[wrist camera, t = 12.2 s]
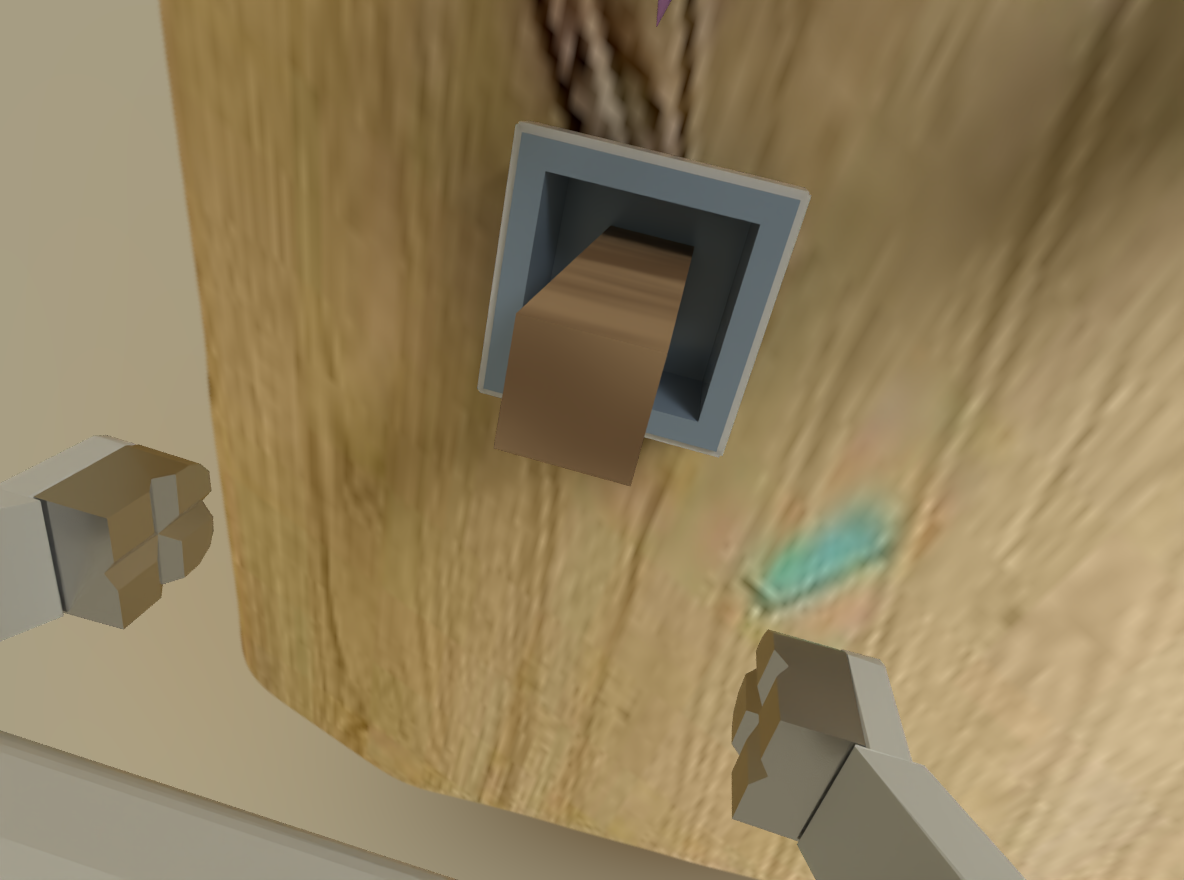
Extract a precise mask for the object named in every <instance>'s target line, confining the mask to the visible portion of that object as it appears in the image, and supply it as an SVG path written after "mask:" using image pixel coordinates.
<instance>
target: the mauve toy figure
mask: <svg viewBox="0 0 1184 880" xmlns="http://www.w3.org/2000/svg"><path fill="white" fill-rule="evenodd" d="M670 2H671V0H658V12H657V26H658V24H659V22H660V20H661V18H662V16H663V15H664V13H665V11H666V9H667V7H668V6H669V4H670Z"/></svg>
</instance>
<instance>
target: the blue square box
mask: <svg viewBox="0 0 1184 880" xmlns="http://www.w3.org/2000/svg"><path fill="white" fill-rule="evenodd" d="M810 199H811V195H810V194H809V191H808V190H807V189H806V188H805V187H801V186H797V185H793V184H789V183H784V182H780V181H776V180H772V179H768V178H764V177H760V176H756V175H752V174H748V173H743V172H739V171H735V170H731V169H727V168H723V167H719V166H715V165H711V164H707V163H702V162H698V161H694V160H690V159H686V158H682V157H678V156H674V155H670V154H665V153H661V152H657V151H653V150H649V149H645V148H641V147H637V146H633V145H629V144H624V143H620V142H616V141H612V140H608V139H604V138H600V137H596V136H592V135H588V134H583V133H579V132H575V131H571V130H567V129H563V128H559V127H555V126H551V125H547V124H542V123H538V122H534V121H519V123H518V124H516V125H515V132H514V139H513V146H512V153H511V160H510V166H509V173H508V180H507V187H506V194H505V201H504V208H503V214H502V221H501V228H500V235H499V242H498V249H497V256H496V262H495V269H494V276H493V283H492V290H491V297H490V304H489V310H488V317H487V324H486V331H485V338H484V345H483V352H482V358H481V365H480V372H479V379H478V386H477V389H478V390H479V392H480V393H484V394H488V395H491V396H495V397H499V398H502V395H503V389H504V383H505V377H506V371H507V365H508V359H509V353H510V347H511V341H512V335H513V329H514V323H515V317H516V313H517V312H518V311H519V310H520V309H521V308H522V307H523V306H525V305H526V304H527V303H528V302H529V301H530V300H531V299H532V298H533V297H534V296H535V295H536V294H537V293H539V292H540V291H541V290H542V289H543V288H544V287H545V286H546V285H547V284H548V283H549V282H550V281H551V280H553V279H554V278H555V277H556V276H557V275H558V274H559V273H560V272H561V271H562V270H563V269H564V268H566V267H567V266H568V265H569V264H570V263H571V262H572V261H573V260H574V259H575V258H576V257H577V256H578V255H580V254H581V253H582V252H583V251H584V250H585V249H586V248H587V247H588V246H589V245H590V244H591V243H592V242H594V241H595V240H596V239H597V238H598V237H599V236H600V235H601V234H602V233H603V232H604V231H605V230H606V229H608V228H609V227H610V226H615V227H619V228H623V229H627V230H631V231H635V232H639V233H643V234H647V235H651V236H654V237H658V238H662V239H666V240H670V241H674V242H678V243H682V244H686V245H690V246H694V251H693V255H692V259H691V263H690V267H689V271H688V274H687V278H686V282H685V286H684V290H683V294H682V298H681V302H680V306H679V310H678V314H677V318H676V322H675V326H674V330H673V334H672V338H671V342H670V346H669V349H668V353H667V357H666V361H665V364H664V368H663V371H662V375H661V379H660V382H659V386H658V389H657V393H656V397H655V400H654V404H653V407H652V411H651V415H650V418H649V422H648V425H647V429H646V433H645V436H644V437H645V438H649V439H653V440H656V441H660V442H664V443H667V444H671V445H675V446H678V447H682V448H686V449H689V450H693V451H697V452H700V453H704V454H708V455H711V456H715V457H720V456H723V453H724V450H725V447H726V444H727V441H728V438H729V435H730V433H731V430H732V427H733V424H734V421H735V418H736V415H737V412H738V409H739V406H740V403H741V400H742V397H743V395H744V392H745V389H746V386H747V383H748V380H749V377H750V374H751V371H752V368H753V365H754V362H755V359H756V357H757V354H758V351H759V348H760V345H761V342H762V339H763V336H764V333H765V330H766V327H767V324H768V321H769V318H770V316H771V313H772V310H773V307H774V304H775V301H776V298H777V295H778V292H779V289H780V286H781V283H782V280H783V278H784V275H785V272H786V269H787V266H788V263H789V260H790V257H791V254H792V251H793V248H794V245H795V242H796V239H797V237H798V234H799V231H800V228H801V225H802V222H803V219H804V216H805V213H806V210H807V207H808V204H809V201H810Z"/></svg>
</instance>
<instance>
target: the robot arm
mask: <svg viewBox="0 0 1184 880" xmlns="http://www.w3.org/2000/svg"><path fill="white" fill-rule="evenodd" d="M210 492H211V483H210V475H209V471H208V470H207V469H206V468H205V467H203V466H202V465H201V464H199V463H196V462H193V461H189V460H186V459H183V458H180V457H177V456H174V455H170V454H167V453H164V452H161V451H158V450H155V449H151V448H148V447H145V446H142V445H136V444H134V443H131V442H127V441H124V440H121V439H118V438H115V437H111V436H108V435H103V436H102V435H99V436H92V437H90V438H88V439H86V440H84V441H82V442H80V443H78V444H76V445H74V446H72V447H70V448H68V449H66V450H64V451H62V452H60V453H58V454H57V455H54V456H52V457H51V458H48V459H46V460H44V461H42V462H40V463H39V464H36V465H35V466H32V467H30V468H29V469H27V470H25V471H23V472H21V473H19V474H17V475H15V476H13V477H11V478H9V479H7V480H5V481H3V482H1V483H0V641H2V640H5V639H7V638H10V637H13V636H15V635H17V634H20V633H23V632H25V631H28V630H30V629H32V628H35V627H37V626H40V625H42V624H45V623H47V622H50V621H52V620H55V619H57V618H60V617H62V616H63V613H67V614H70V615H74V616H77V617H81V618H84V619H88V620H92V621H95V622H99V623H102V624H106V625H110V626H113V627H117V628H120V629H125V628H126V627H127V626H128V625H130V624H131V623H132V622H133V621H134V620H135V619H137V618H138V617H139V616H140V615H141V614H142V613H144V612H145V611H146V610H147V609H148V608H150V606H152V605H153V604H154V603H155V602H157V601H158V600H159V599H160V598H161V595H162V586H163V584H166V583H169V582H171V581H175V580H178V579H181V578H184V577H186V576H187V575H188V574H189V573H190V572H191V571H192V570H193V569H195V567H197V566H198V565H199V564H200V562H201V561H202V559H203V557H204V555H205V553H206V552H207V550H208V549H209V547H210V544H211V540H212V535H213V531H214V530H213V516H212V514H211V513H210V511H209V510H208V508H207V507H206V505H205V504H204V502H203V501H202V500H203V499H204V498H205V497H206V496H207V495H208V494H209V493H210ZM756 664H757V668H756V669H755V670H753V671H751V672H749V673H747V674H746V675H745V677H744V680H743V682H742V685H741V687H740V690H739V692H738V696H737V700H736V704H735V708H734V713H733V722H732V745H733V746H734V748H735V749H736V751H737V752H738V754H739V757H738V759H737V762H736V764H735V766H734V768H733V770H732V819H734V820H737V821H740V822H743V823H746V824H749V825H752V826H755V827H758V828H761V829H764V830H767V831H770V832H772V833H775V834H778V835H781V836H784V837H787V838H790V839H793V840H796V841H799V842H798V844H797V845H798V847H799V849H800V851H801V853H802V855H803V857H804V858H805V860H806V862H807V864H808V866H809V868H810V870H811V872H812V874H813V876H814V877H815V879H816V880H1026V879H1025V878H1024V877H1023V876H1022V875H1021V873H1020V872H1019V871H1018V870H1017V869H1016V868H1015V867H1014V866H1013V864H1012V863H1011V862H1010V861H1009V860H1008V859H1007V858H1006V857H1005V855H1004V854H1003V853H1002V852H1001V851H1000V850H999V849H998V848H997V846H996V845H995V844H994V843H993V842H992V841H991V840H990V839H989V838H988V836H987V835H986V834H985V833H984V832H983V831H982V830H981V829H980V827H979V826H978V825H977V824H976V823H975V822H974V821H973V820H972V818H971V817H970V816H969V815H968V814H967V813H966V812H965V811H964V809H963V808H962V807H961V806H960V805H959V804H958V803H957V802H956V800H955V799H954V798H953V797H952V796H951V795H950V794H949V793H948V791H947V790H946V789H945V788H944V787H943V786H942V785H941V784H940V783H939V781H938V780H937V779H936V778H935V777H934V776H933V775H932V774H931V772H930V771H929V770H928V769H927V768H926V767H925V766H924V765H921V764H918V763H915V762H912V758H911V755H910V751H909V748H908V744H907V741H906V737H905V734H904V730H903V727H902V723H901V720H900V716H899V713H898V709H897V706H896V702H895V699H894V695H893V692H892V688H891V685H890V681H889V678H888V674H887V671H886V667H885V665H884V664H883V663H882V661H881V660H880V659H877V658H873V657H869V656H865V655H862V654H858V653H854V652H850V651H847V650H843V649H842V650H838V649H835V648H832V647H828V646H825V645H821V644H818V643H814V642H811V641H807V640H804V639H800V638H797V637H793V636H790V635H786V634H783V633H779V632H776V631H772V630H769V629H768V630H767V631H766V633H765V634H764V635H763V637H762V639H761V641H760V643H759V645H758V647H757V650H756ZM0 880H456V879H453V878H450V877H447V876H444V875H441V874H438V873H435V872H432V871H429V870H425V869H423V868H420V867H416V866H413V865H410V864H407V863H404V862H401V861H398V860H395V859H391V858H388V857H386V856H382V855H379V854H376V853H373V852H370V851H367V850H364V849H361V848H358V847H355V846H352V845H349V844H346V843H343V842H340V841H336V840H334V839H331V838H328V837H325V836H321V835H318V834H315V833H312V832H309V831H306V830H303V829H300V828H297V827H294V826H291V825H287V824H284V823H282V822H279V821H276V820H272V819H269V818H267V817H263V816H260V815H257V814H254V813H251V812H248V811H245V810H242V809H239V808H236V807H233V806H230V805H227V804H224V803H221V802H218V801H215V800H212V799H209V798H205V797H202V796H199V795H196V794H193V793H190V792H187V791H184V790H181V789H178V788H175V787H172V786H169V785H166V784H162V783H160V782H156V781H154V780H151V779H147V778H144V777H141V776H138V775H135V774H132V773H129V772H126V771H123V770H120V769H117V768H114V767H111V766H107V765H105V764H102V763H99V762H96V761H92V760H89V759H86V758H83V757H80V756H77V755H74V754H71V753H68V752H65V751H62V750H59V749H56V748H52V747H50V746H47V745H43V744H40V743H37V742H34V741H31V740H28V739H25V738H22V737H19V736H16V735H13V734H10V733H7V732H3V731H0Z"/></svg>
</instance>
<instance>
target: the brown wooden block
mask: <svg viewBox="0 0 1184 880" xmlns="http://www.w3.org/2000/svg"><path fill="white" fill-rule="evenodd" d="M693 251H694V246H690V245H686V244H682V243H678V242H674V241H670V240H666V239H662V238H658V237H654V236H651V235H647V234H643V233H639V232H635V231H631V230H627V229H623V228H619V227H615V226H610V227H609V228H608V229H606V230H605V231H604V232H603V233H602V234H601V235H600V236H599V237H598V238H597V239H596V240H595V241H594V242H592V243H591V244H590V245H589V246H588V247H587V248H586V249H585V250H584V251H583V252H582V253H581V254H580V255H578V256H577V257H576V258H575V259H574V260H573V261H572V262H571V263H570V264H569V265H568V266H567V267H566V268H564V269H563V270H562V271H561V272H560V273H559V274H558V275H557V276H556V277H555V278H554V279H553V280H551V281H550V282H549V283H548V284H547V285H546V286H545V287H544V288H543V289H542V290H541V291H540V292H539V293H537V294H536V295H535V296H534V297H533V298H532V299H531V300H530V301H529V302H528V303H527V304H526V305H525V306H523V307H522V308H521V309H520V310H519V311H518V312H517V313H516V317H515V323H514V329H513V335H512V341H511V347H510V353H509V359H508V365H507V371H506V377H505V383H504V389H503V395H502V401H501V407H500V413H499V419H498V425H497V431H496V437H495V443H494V448H495V449H498V450H502V451H505V452H509V453H513V454H516V455H520V456H523V457H527V458H531V459H534V460H538V461H541V462H545V463H549V464H552V465H556V466H559V467H563V468H566V469H570V470H574V471H577V472H581V473H584V474H588V475H592V476H595V477H599V478H602V479H606V480H610V481H613V482H617V483H620V484H624V485H628V486H631V483H632V479H633V476H634V472H635V468H636V465H637V461H638V458H639V454H640V451H641V447H642V443H643V440H644V436H645V433H646V429H647V425H648V422H649V418H650V415H651V411H652V407H653V404H654V400H655V397H656V393H657V389H658V386H659V382H660V379H661V375H662V371H663V368H664V364H665V361H666V357H667V353H668V349H669V346H670V342H671V338H672V334H673V330H674V326H675V322H676V318H677V314H678V310H679V306H680V302H681V298H682V294H683V290H684V286H685V282H686V278H687V274H688V271H689V267H690V263H691V259H692V255H693Z"/></svg>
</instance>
